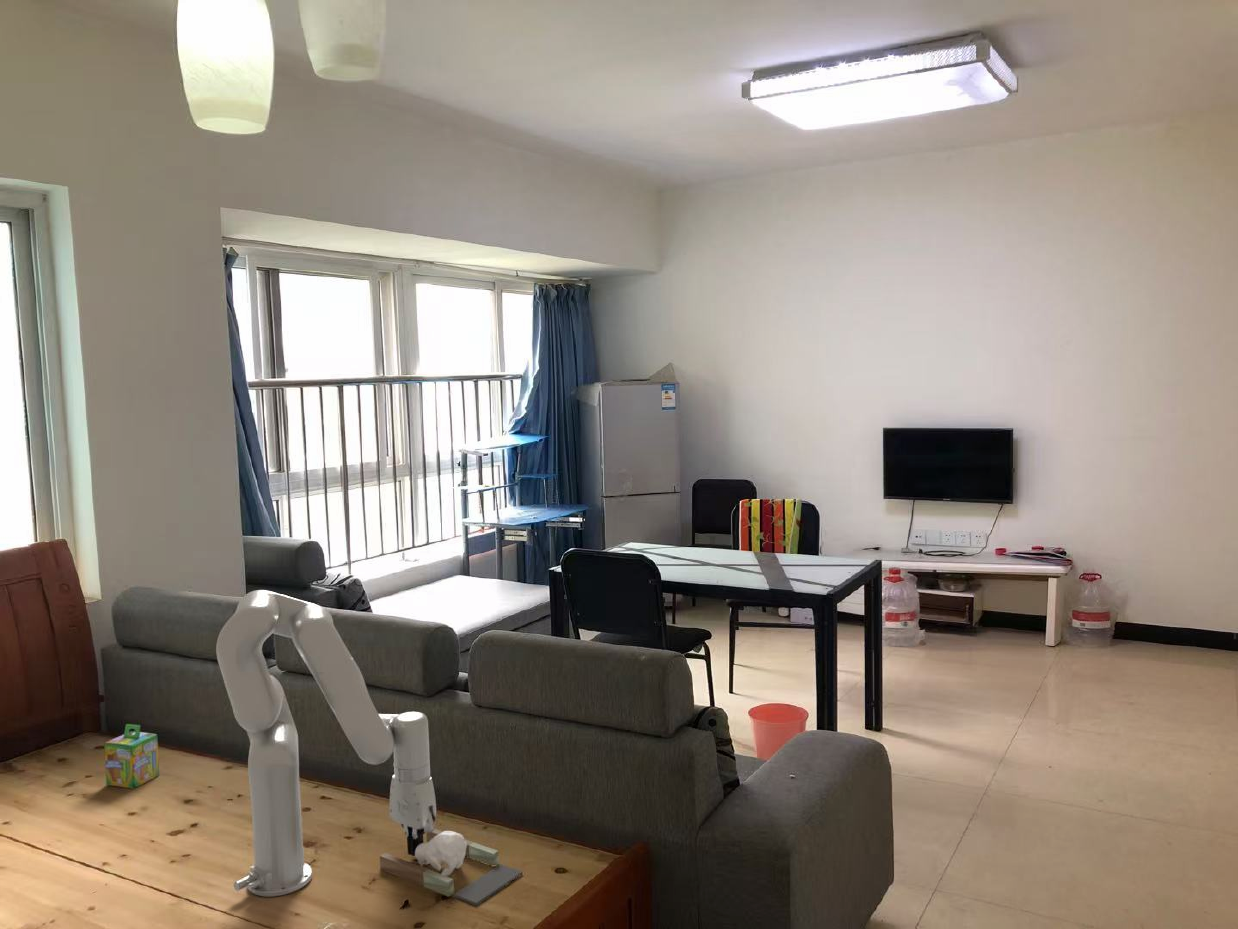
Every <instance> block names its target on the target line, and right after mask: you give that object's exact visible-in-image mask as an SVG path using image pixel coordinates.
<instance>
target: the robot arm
mask: <svg viewBox="0 0 1238 929" xmlns="http://www.w3.org/2000/svg"><path fill="white" fill-rule="evenodd" d="M272 634H274V635H278V636H282V637H284V638H285V637H286V638H290V639H291V640H292V642H293V645H294V647H295V648H296V650H297V652H298V653H299V655H300V657H301V658H302V660H303V662H304V664H305V665H306V666H307V668H308V670H309V671H310V673H311V675H312V676H313V678H314V679H315V681H316V684H317V685H318V686H319V688H320V690H321V692H322V694H323V695H324V698H325V700H326V702H327V704H328V705H329V707H330V708H331V710H332V712H333V713H334V715H335V718H336V719H337V722H338V723H339V724H340V727H341V729H342V731H343V732H344V734H345V736H346V737H347V739H348V741H349V742H350V745H351V746H352V748H353V749H354V751H355V752H356V754H357V755H358V757H359V758H360V759H361V760H362V761H363V762H364V763H367V764H369V765H380V764H382V763H385V762H386V761H387V760H389V758H391V756H392V754H393V763H392V766H393V772H394V774H393V775H392V778H391V782H390V787H389V788H390V791H389V816H390V819H391V820H392V821H393V822H395V823H398V824H399V825H401V827H402V828H403V832H404V836H405V837H406V841H407V842H406V844H407V847H406V848H407V854H408V855H409V856H412V857H416V856H415V850H416V848H417V846H418V845H419V844H421V843H424V835H425V834H427V833H430V832H432V831H433V830H434V829H435V825H434V822H436V819H437V804H436V803H437V802H436V801H437V800H436V794H435V788H434V782H433V779H432V776H431V762H430V758H431V757H430V738H429V737H430V736H429V720H428V717H427V715H426V714H425V713H423V712H421V711H405V712H402V713H396V714H394V713H393V714H392V713H379V712H378V711H377V709H376V707H375V705H374V703H373V701H372V699H371V697H370V694H369V691H368V687H367V685H366V682H365V679H364V676H363V674H362V672H361V670H360V667H359V665H358V664H357V663H356V661H355V659H354V657H353V656H352V654H351V652H350V651H349V649H348V648H347V646H346V644H345V643H344V640H343V639H342V638H341V635H340V634H339V632H338V629H337V628H336V626H335V625H334V619H333V617H332V614H331V613H330V611H329V610H327V608H325V607H323V606H322V605H319V604H315V603H313V602H308V601H305V600H302V599H300V598H299V599H298V598H294V597H291V596H288V595H285V594H280V593H277V592H274V591H272V590H271V591H270V590H266V589H258V590H257V589H256V590H253V591H252V590H251V591H250V592H248V593H246V594H245V595H243V597H242V598H241V599H240V600H239V602H238V604H237V607H236V610H235V612H234V613H233V614H232V616H231V617H230V618H229V619H228V620H227V621H226V622H225V624H224V626H222V628H221V630H220V632H219V635H218V636H217V637H218V638H217V640H216V645H215V646H216V648H215V652H216V658H217V663H218V666H219V670H220V673H221V675H222V679H223V682H224V686H225V689H226V692H227V695H228V699H229V702H230V705H231V707H232V712H233V715H234V718H235V720H236V723H238V725H239V726H240V727H242V728H243V730H245V731H246V733H247V736H248V739H249V743H250V745H249V751H248V759H247V771H248V774H247V776H248V780H249V781H248V783H249V790H250V791H249V792H250V805H251V808H250V809H251V810H250V811H251V818H252V832H253V833H252V836H253V854H254V864H253V865H251V866H250V867H249V870H250V872H248V873H247V874H246V876H244V877H242V878H240V879H237V880H235V881H234V882H233V889H234V890H235V891H237V892H238V891H241V890H242V889H244V888H247V891H249V892H250V893H252V894H253V895H256V896H259V897H269V898H270V897H271V898H273V897H279V896H283V895H287V894H292V893H294V892H296V891H298V890H301V889H302V888H304V886H307V884H308V883H309V882H310V881H311V880H312V877H313V869H312V866H310V865H309V864H308V863H306V862H305V858H304V842H303V840H304V839H303V822H302V821H303V820H302V805H301V804H302V803H301V787H300V761H299V760H300V758H299V736H298V731H297V726H296V724H295V721H294V718H293V715H292V712H291V710H290V706H289V703H288V701H287V697H286V695H285V691H284V688H283V686H282V684H281V682H280V681H279V680H278V679H277V678H276V677H275V676H274V675H272V674H270V672H269V669H268V668H269V667H268V665H267V662H266V658H265V656H264V654H263V645H264V642H266V640H267V639H268V638H269V637H270V636H272Z"/></svg>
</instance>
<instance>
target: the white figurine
mask: <svg viewBox="0 0 1238 929" xmlns="http://www.w3.org/2000/svg"><path fill="white" fill-rule="evenodd" d="M466 847H467V843H466V841H465V838H464V835H462V834H461V833H460V832H459V833H458V832H456V831H452V830H444V831H443V832H442V833H440V834H438V835H436V836H435V837H434V838H433V839H431V840H430V841H429V842H428V843H427V842H423V843H421V844H419V845H418V846H417V848H416V850H415V856H414V857H415V858H416V860H417V864H419V866H421V867H423V865H428V864H430V865H431V866H432V867H433V868H435V869H436V870H437V871H440V870H441V869H442V865H441V863H446V865H447V867H446V868H444V869H443V870H442V872H441V873H440V874H442V875H444V876H447V877H449V876H450V875H451V874H452V873H453V872H454V869H460V868H461V866H462V865H463V863H464V859H465V858H466V857H465V853H466Z"/></svg>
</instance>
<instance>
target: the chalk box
mask: <svg viewBox="0 0 1238 929" xmlns="http://www.w3.org/2000/svg"><path fill="white" fill-rule="evenodd" d="M132 729H133V731H132ZM130 730H131V731H130ZM158 739H159V738H158V735H157V734H156V733H153V732H152V733H151V732H145V731H141V725H140V724H133V723H132V724H131V723H125V727H124V733H123V734H122V735H119V736H117V737H115V738H112V739H111V740H108V741H105V742H104V755H105V757H104V758H105V777H106V778H105V780H106V781H105V784H106V786H112V787H113V786H114V787H119V788H127V789H133V790H134V789H136V788H138V787H140V786H141V785H144V784H146V783H147V782H149V781H151V780H153V779H155V778H157V777H159V776H160V765H159V764H160V762H159V760H160V759H159V743H158V742H159V741H158Z"/></svg>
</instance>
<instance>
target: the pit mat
mask: <svg viewBox="0 0 1238 929" xmlns="http://www.w3.org/2000/svg"><path fill="white" fill-rule="evenodd" d="M522 873H523V871H521V870H519V869H516V868H513V867H510V866H507V865H504V864H502V863H499V865H497V866H496V867H493V868H492V869H490V870H489V871H488V872H486V873H484V874H482V876H480V877H478V878H477V879H475V880H473V881H472V882H470V883H469V884H467V885H466V886H464V887H463V888H461V889H459V890H458V891H457V892H454V894H453V897H454V898H455V899H458V900H461V901H463V902H465V903H468V904H471V905H473V906H476V907H477V906H478V905H480V904H481V903H483V902H484V901H486V900H487V899H489V898H491V897H492V896H493V895H495V894H496V893H498V892H499V891H500V889H501V890H502V889H504V888H505V887H506V886H507V885H506V884H507V883H509V882H511V881H512V880H513V879H514V878H516V877H518V876H519V875H521V874H522ZM521 876H522V875H521ZM518 878H519V877H518ZM512 882H513V881H512ZM512 882H511V883H512ZM509 884H510V883H509ZM505 885H506V886H505ZM504 886H505V887H504ZM497 891H498V892H497Z"/></svg>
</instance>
